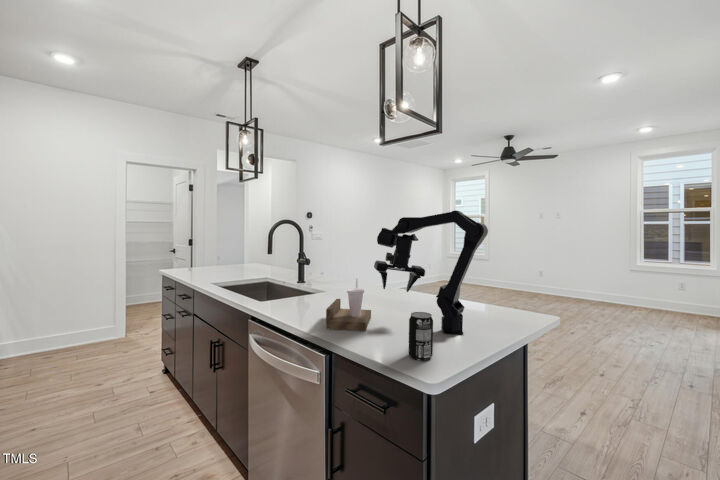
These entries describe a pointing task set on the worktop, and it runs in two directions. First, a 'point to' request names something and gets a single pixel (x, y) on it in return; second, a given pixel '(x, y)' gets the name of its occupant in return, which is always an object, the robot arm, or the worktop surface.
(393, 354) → the worktop surface
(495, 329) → the worktop surface
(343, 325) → the wooden l-shaped block
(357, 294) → the smoothie
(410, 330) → the beverage can
